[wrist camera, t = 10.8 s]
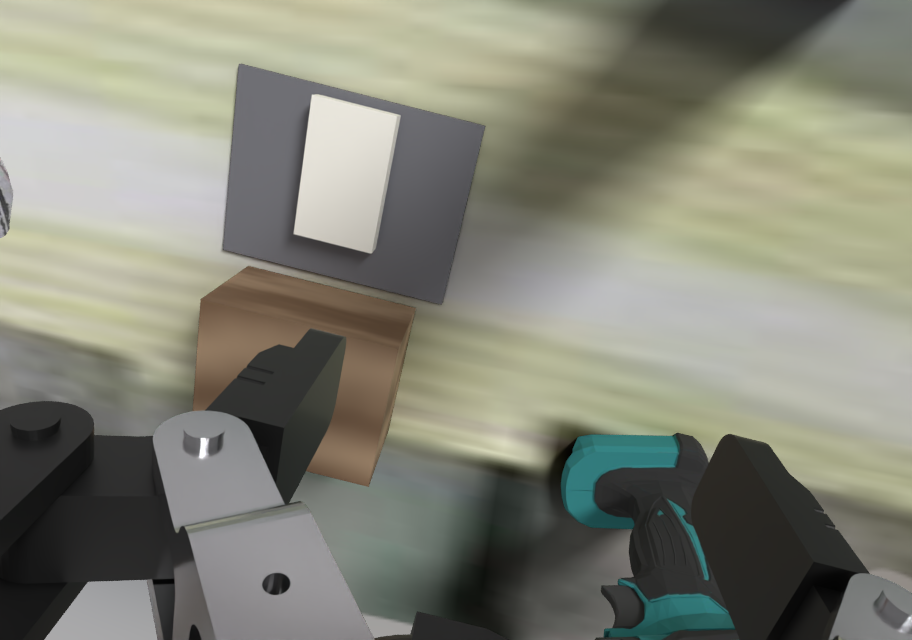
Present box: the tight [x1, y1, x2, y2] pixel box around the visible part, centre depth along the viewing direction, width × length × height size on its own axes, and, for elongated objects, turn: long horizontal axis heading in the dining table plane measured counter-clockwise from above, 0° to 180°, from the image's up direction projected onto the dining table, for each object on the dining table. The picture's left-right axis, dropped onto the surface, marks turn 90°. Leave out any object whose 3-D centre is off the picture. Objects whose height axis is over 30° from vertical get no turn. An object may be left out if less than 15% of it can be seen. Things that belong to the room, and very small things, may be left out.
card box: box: [294, 94, 401, 254], centre depth 44 cm, size 10×6×2 cm, turn 167°
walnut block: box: [193, 266, 416, 487], centre depth 47 cm, size 12×14×8 cm
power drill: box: [561, 433, 740, 640], centre depth 41 cm, size 26×9×25 cm, turn 92°
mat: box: [223, 64, 485, 305], centre depth 45 cm, size 14×18×1 cm
